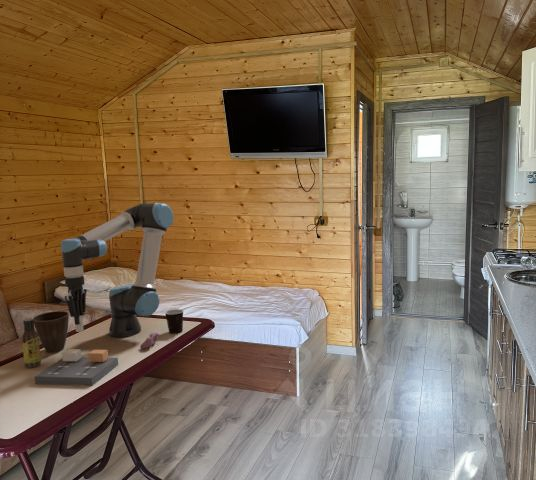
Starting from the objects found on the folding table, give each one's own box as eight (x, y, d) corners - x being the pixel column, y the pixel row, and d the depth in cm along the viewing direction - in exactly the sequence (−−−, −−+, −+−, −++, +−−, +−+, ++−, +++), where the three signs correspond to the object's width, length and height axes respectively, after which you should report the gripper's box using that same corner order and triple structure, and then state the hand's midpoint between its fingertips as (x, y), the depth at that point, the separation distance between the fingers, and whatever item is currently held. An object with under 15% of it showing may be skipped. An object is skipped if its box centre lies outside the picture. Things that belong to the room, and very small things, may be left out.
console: (65, 363, 213) (64, 356, 212) (118, 364, 208) (117, 357, 208) (35, 383, 193) (34, 376, 193) (92, 385, 189) (91, 377, 188)
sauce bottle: (31, 369, 208) (25, 322, 205) (21, 367, 211) (15, 321, 208) (45, 363, 214) (39, 318, 211) (35, 361, 217) (29, 316, 214)
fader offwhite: (68, 357, 210) (67, 349, 209) (81, 357, 209) (80, 349, 208) (62, 361, 206) (61, 352, 205) (76, 361, 205) (75, 353, 204)
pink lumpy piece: (147, 353, 224) (153, 339, 222) (138, 348, 224) (144, 335, 223) (157, 345, 233) (162, 332, 232) (148, 340, 234) (153, 327, 232)
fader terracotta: (94, 357, 207) (94, 349, 207) (108, 358, 206) (107, 349, 206) (89, 361, 203) (88, 353, 203) (103, 361, 202) (102, 353, 202)
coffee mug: (169, 329, 251) (167, 309, 249) (186, 328, 251) (184, 308, 249) (163, 337, 239) (161, 316, 238) (181, 336, 239) (179, 315, 238)
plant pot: (64, 355, 223) (60, 320, 220) (30, 356, 223) (26, 321, 221) (77, 343, 238) (73, 310, 235) (46, 345, 238) (42, 312, 236)
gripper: (74, 273, 217) (80, 326, 220) (56, 279, 205) (62, 336, 208) (90, 272, 216) (96, 326, 219) (73, 279, 203) (79, 336, 206)
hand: (79, 331), depth 213 cm, fingers closed
